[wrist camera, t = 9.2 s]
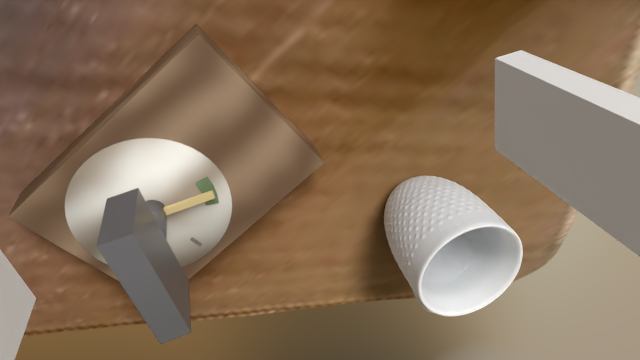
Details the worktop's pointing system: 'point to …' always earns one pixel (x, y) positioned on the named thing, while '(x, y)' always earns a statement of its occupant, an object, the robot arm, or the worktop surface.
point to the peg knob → (148, 259)
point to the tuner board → (174, 158)
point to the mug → (450, 245)
